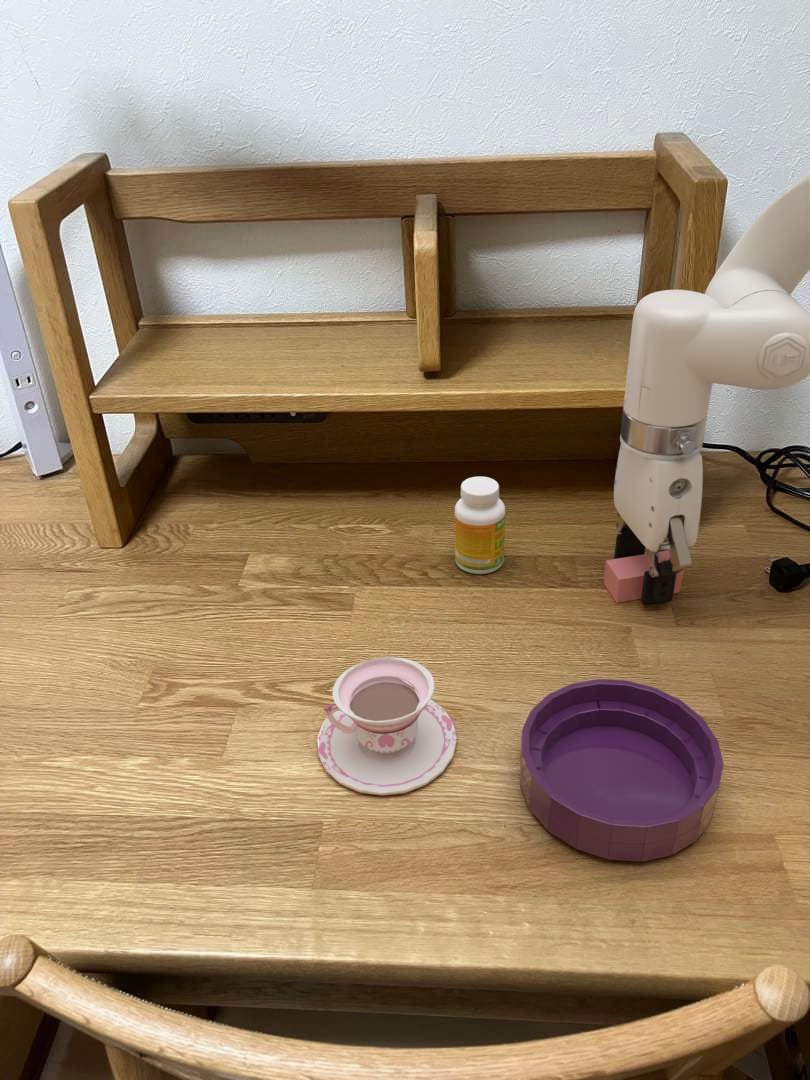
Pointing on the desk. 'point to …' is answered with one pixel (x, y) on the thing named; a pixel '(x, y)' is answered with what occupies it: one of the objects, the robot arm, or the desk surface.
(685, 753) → the bowl
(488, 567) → the supplement bottle
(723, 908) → the desk surface
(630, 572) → the eraser
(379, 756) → the teacup
